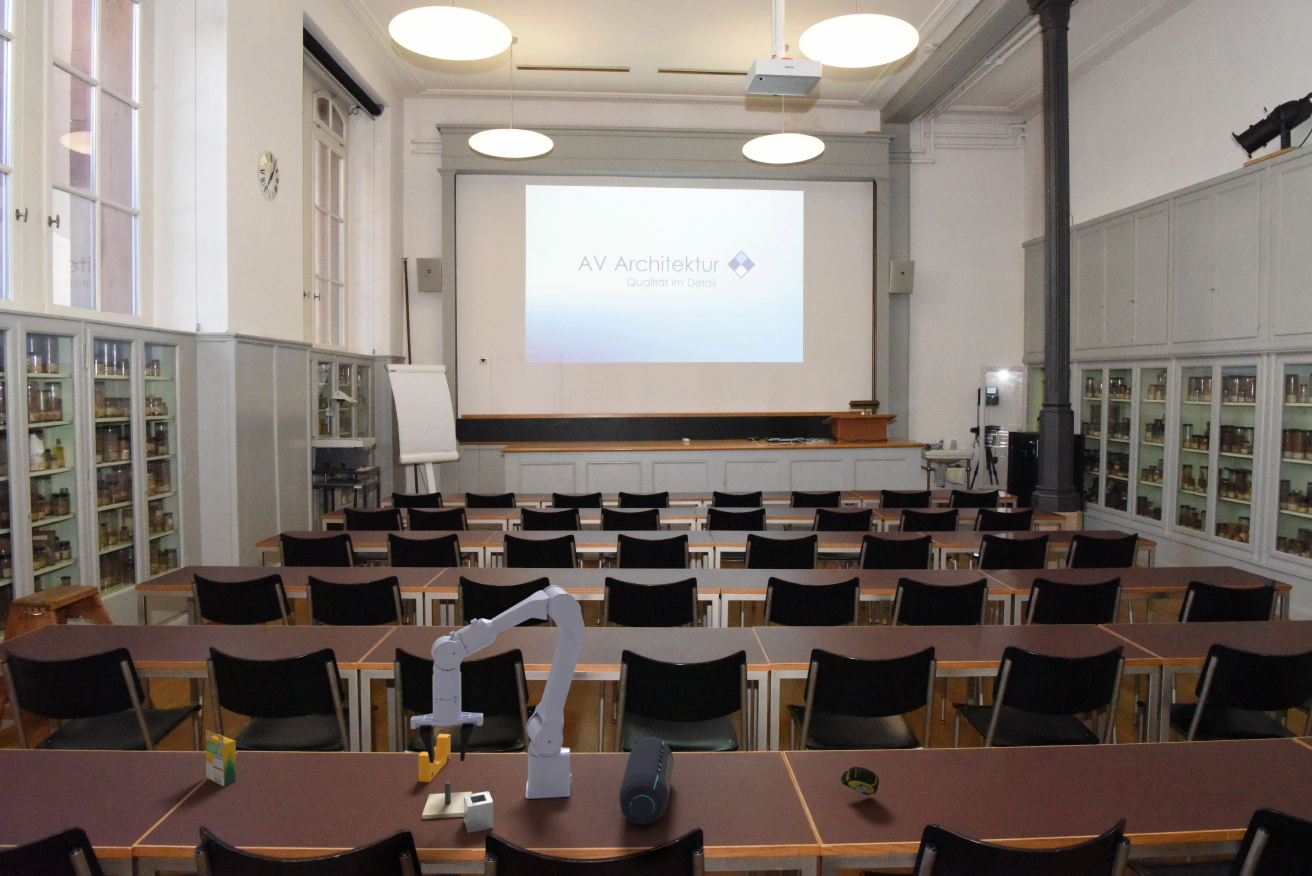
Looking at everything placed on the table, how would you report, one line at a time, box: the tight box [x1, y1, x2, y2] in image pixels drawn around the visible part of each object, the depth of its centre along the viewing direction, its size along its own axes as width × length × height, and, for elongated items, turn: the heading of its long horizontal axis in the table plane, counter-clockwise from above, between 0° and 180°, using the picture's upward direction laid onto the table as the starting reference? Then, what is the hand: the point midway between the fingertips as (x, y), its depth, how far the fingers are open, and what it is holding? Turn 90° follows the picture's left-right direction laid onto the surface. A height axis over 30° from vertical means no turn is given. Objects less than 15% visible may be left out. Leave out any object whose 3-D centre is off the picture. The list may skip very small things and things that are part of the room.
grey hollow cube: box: [463, 790, 494, 834], centre depth 156 cm, size 5×5×5 cm
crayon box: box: [205, 729, 237, 787], centre depth 174 cm, size 7×3×12 cm, turn 58°
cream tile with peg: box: [421, 781, 473, 820], centre depth 163 cm, size 9×9×5 cm
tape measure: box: [840, 766, 880, 796], centre depth 166 cm, size 7×7×4 cm
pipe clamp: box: [417, 733, 452, 783], centre depth 180 cm, size 12×4×6 cm, turn 173°
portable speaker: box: [618, 736, 674, 826], centre depth 166 cm, size 25×10×10 cm, turn 175°
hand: (447, 760), depth 163 cm, fingers open, 6 cm apart
